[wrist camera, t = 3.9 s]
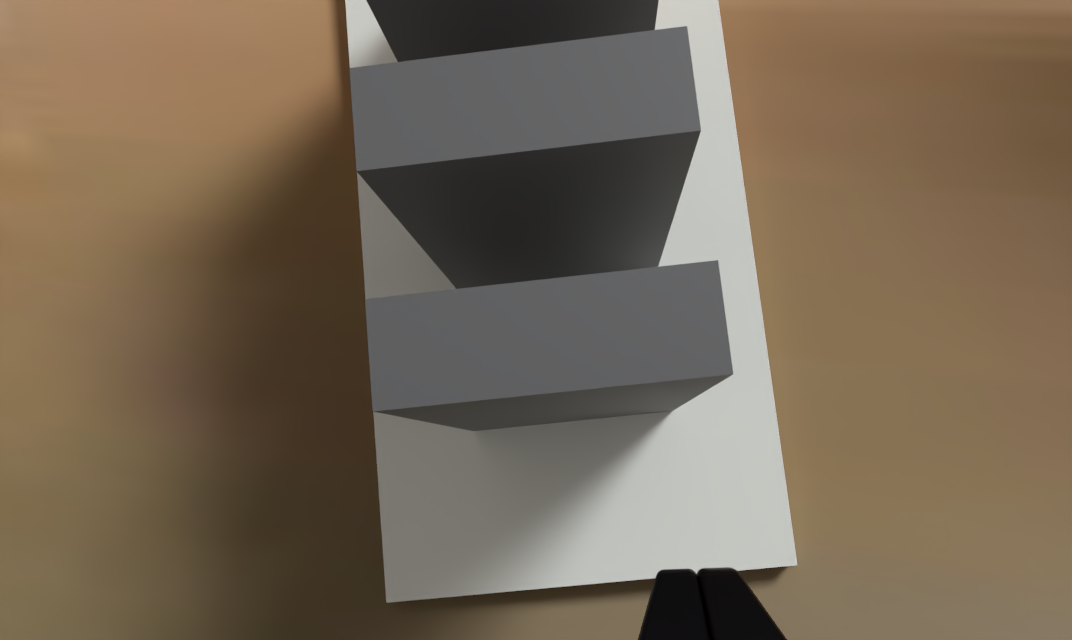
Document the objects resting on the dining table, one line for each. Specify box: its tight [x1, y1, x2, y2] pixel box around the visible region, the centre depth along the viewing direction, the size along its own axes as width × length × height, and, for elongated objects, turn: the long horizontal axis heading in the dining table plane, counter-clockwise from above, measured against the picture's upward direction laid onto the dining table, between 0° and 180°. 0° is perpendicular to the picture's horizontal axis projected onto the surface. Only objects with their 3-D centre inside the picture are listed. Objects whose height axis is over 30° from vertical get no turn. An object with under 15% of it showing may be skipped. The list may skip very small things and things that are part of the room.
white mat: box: [345, 0, 797, 603], centre depth 23 cm, size 20×10×1 cm, turn 6°
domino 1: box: [366, 0, 659, 62], centre depth 18 cm, size 2×5×10 cm, turn 95°
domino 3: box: [365, 260, 733, 431], centre depth 17 cm, size 2×5×10 cm, turn 96°
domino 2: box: [349, 26, 701, 289], centre depth 18 cm, size 2×5×10 cm, turn 96°
